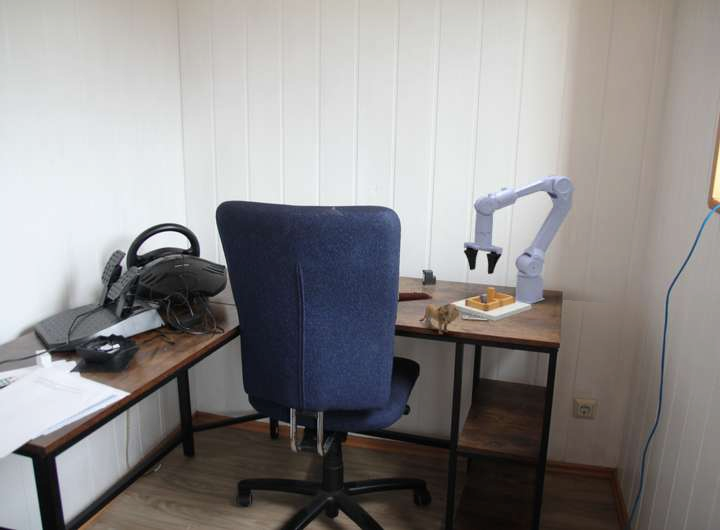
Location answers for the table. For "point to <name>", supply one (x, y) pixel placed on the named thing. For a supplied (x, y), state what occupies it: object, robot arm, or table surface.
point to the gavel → (414, 296)
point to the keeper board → (495, 313)
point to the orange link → (490, 300)
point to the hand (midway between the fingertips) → (481, 271)
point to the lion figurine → (441, 315)
